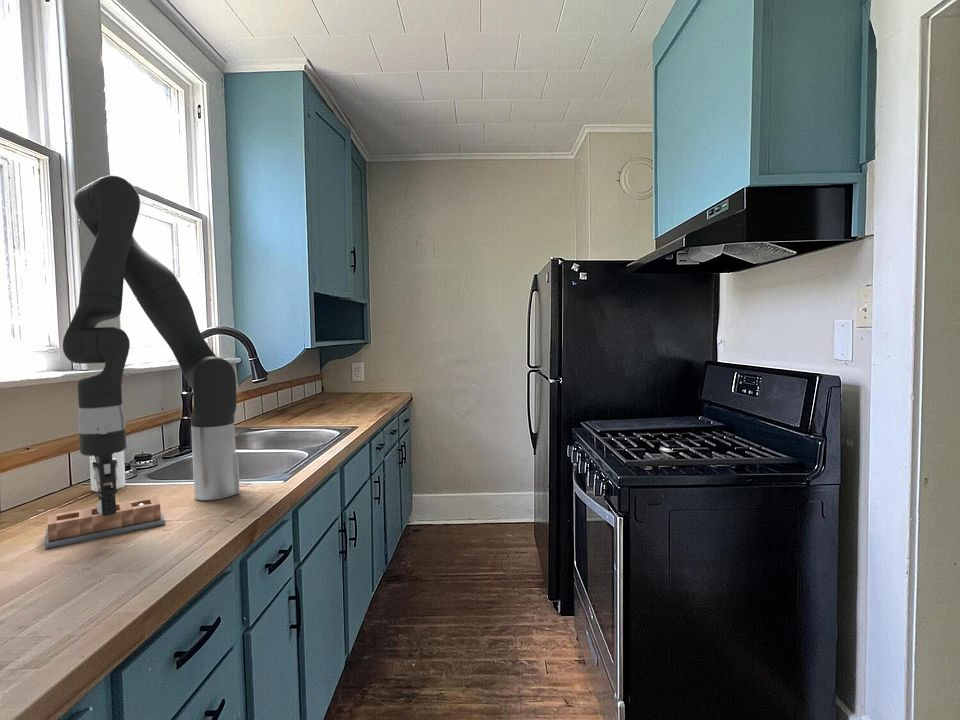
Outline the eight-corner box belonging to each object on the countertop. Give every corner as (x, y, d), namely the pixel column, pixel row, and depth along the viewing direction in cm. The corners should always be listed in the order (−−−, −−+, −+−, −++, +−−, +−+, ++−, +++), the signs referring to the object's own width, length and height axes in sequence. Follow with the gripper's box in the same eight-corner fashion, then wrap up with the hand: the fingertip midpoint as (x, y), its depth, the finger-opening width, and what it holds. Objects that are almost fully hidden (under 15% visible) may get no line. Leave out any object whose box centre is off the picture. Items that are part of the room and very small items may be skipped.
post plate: (159, 512, 116) (157, 483, 116) (165, 524, 109) (163, 493, 109) (46, 534, 105) (44, 502, 104) (45, 548, 98) (43, 514, 97)
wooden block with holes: (48, 540, 99) (47, 524, 99) (49, 530, 104) (48, 515, 104) (160, 518, 110) (160, 504, 110) (156, 510, 115) (156, 496, 115)
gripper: (77, 426, 109) (82, 504, 110) (80, 436, 98) (85, 523, 99) (121, 421, 113) (126, 496, 114) (129, 431, 102) (133, 514, 103)
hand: (107, 508), depth 106 cm, fingers open, 8 cm apart
